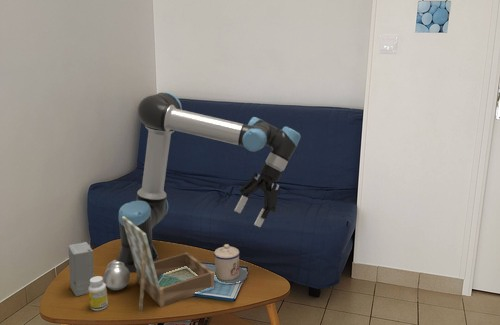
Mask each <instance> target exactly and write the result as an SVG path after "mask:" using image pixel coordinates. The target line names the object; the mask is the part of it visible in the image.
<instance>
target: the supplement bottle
mask: <svg viewBox="0 0 500 325" xmlns="http://www.w3.org/2000/svg"><path fill="white" fill-rule="evenodd" d="M88 289H89V293H88V295H89V296H88V297H89V305H90V309H91V310H93V311H102V310H104V309H106V308H107V307H108V306H109V301H108V300H109V299H108V291H107V286H106V284H105V282H104V276H100V275H97V276H95V275H94V277H92V278H91V279H90V286H89V288H88Z"/></svg>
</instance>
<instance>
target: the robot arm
mask: <svg viewBox="0 0 500 325" xmlns="http://www.w3.org/2000/svg"><path fill="white" fill-rule="evenodd" d="M137 116H138V119H139V120H140V122H141V123H142V124H143V125H144V127H145V128H146V130H148V133H147V141H146V150H145V159H144V167H143V176H142V181H141V182H142V185H141V188H139V189H138V190H137V193H136V199H135V200H132V201H130V202H126V203H125V204H123V205H121V206H120V208H119V210H118V224H119V234H120V244H121V246H120V251H119V254H118V258H117V260H118V261H121V262H123V263H124V265H125V266H126V267H127V268H128V270H129V272H130V273H137V271H136V267H135V264H134V260H133V256H132V253H131V249H130V245H129V242H128V238H127V234H126V231H125V227H124V224H123V220H122V217H123V216H124V217H126V218H127V219H128V220H129V221H131V222H132V223H133V224H134V225H136V226H137V227H138V228H139V229H141V230H142V231H143V232H144V233H146V236H147V240H148V243H149V247H150V251H151V255H152V259H153V262H154V261H158V260H159V254H158V251H157V250H156V247H155V245H154V243H153V231H152V230H153V229H154V227H156V226H157V224H159V223H160V222H161V221H163V219H164V218H165V217H166V215H167V214H168V210H169V202H168V200H167V192H165V190H164V189H165V188H164V187H165V181H166V173H167V166H168V160H169V159H168V158H169V151H170V150H169V149H170V145H171V135H172V134H173V133H174V132H175V131H176V132H180V133H185V134H189V135H192V136H193V135H194V136H198V137H203V138H206V139H211V140H215V141H218V142H219V141H220V142H224V143H228V144H232V145H236V146H240V147H244V148H245V149H246V150H248V151H249V152H258V151H260V150H261V149H263V148H264V147H265V146H267V147H269V148H271V150H270V152H269V153H268V156H267V158H266V159H265V163H264V164H263V166H262V167H261V169H260V173H261V174H259V173H257V172H255V173H254V174H253V175H252V177H251V178H250V179H249V180H247V182H246V183H245V184H244V185H243V186H242V187H241V188H240V189H239V192H240V193H241V195H240V197H239V198H238V202H237V204H236V206H235V208H234V209H233V210H234V212H236V213H237V214H241V213H242V211H243V209H244V207H245V205H246V203H247V201H248V199H249V196H251V195H252V194H254V193H255V192H257V191H258V190H261V191H263V195H264V196H263V197H264V199H263V200H264V201H263V202H264V206H263V207H262V208H261V211H260V212H259V213H258V216H257V218H256V220H255V222H254V224H253V225H254V226H255V227H256V226H257V227H258V228H261V227H262V225H263V223H264V221H265V220H266V219H267V217H268V215H269V214H270V212H272V213H273V212H276V208H277V202H278V197H279V191H280V189H281V185H279V184H278V183H276V182H279V180H280V179H281V177H282V175H283V173H282V172H284V171H285V169H286V167H287V165H288V163H289V161H290V160H291V158H292V156H293V153H294V152H295V150H296V148H297V147H298V145H299V142H300V140H301V134H300V132H298V131H296V130H294V129H293V128H290V127H289V126H283V128H282V129H280V128H278V127H276V126H274V125H272V124H270V123H269V122H267V121H264V119H261V118H258V117H257V116H256V117H255V116H253V117H251V118H250V120H249V121H248V124H245V123H240V122H236V121H232V120H226V119H224V118H219V117H214V116H211V115H205V114H201V113H197V112H193V111H188V110H184V109H183V107H182V103H181V101H180V99H179V98H178V97H177V96H176V95H175V94H173V93H171V92H158V93H156V94H151V95H148V96H146V97H144V98H143V99H141V101H140V102H139V104H138V106H137Z"/></svg>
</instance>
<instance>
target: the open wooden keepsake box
mask: <svg viewBox="0 0 500 325" xmlns="http://www.w3.org/2000/svg"><path fill="white" fill-rule="evenodd" d="M122 220H123V224H124V227H125V231H126V234H127V238H128V242H129V245H130V249H131V253H132V256H133V260H134V264H135V267H136V271H137V272H136V282H137V283H138V285H139V286H140V287H139V299H138V300H139V302H138V311H139V312H143V310H144V307H143V306H144V295H145V292H146V293H147V294H148V295H149V296H150V298H152V299H153V300H154V301H155V303H156V304H157V305H158V306H159V307H160V308H163V307H165V306H168V305H171V304H174V303H176V302H177V303H178V302H179V301H182V300H186V299H189V298H191V297H195V295H193V294H194V293H195V292H198V291H201V290H204V289H206V288H210V287H213V286H215V280H214V272H215V271H213V270H211V269H210V268H209V267H207V266H206V265H204V264H203V263H202V262H201V261H200V260H198V259H197V258H195V257H194V256H193V255H192V254H190V253H189V252H187V251H186V252H183V253H179V254H176V255H173V256H169V257H166V258H162V259H158V261H154V262H153V259H152V255H151V251H150V247H149V243H148V240H147V236H146V233H144V232H143V231H142V230H141V229H139V228H138V227H137V226H136V225H134V224H133V223H132V222H131V221H129V220H128V219H127V218H126V217H124V216H123V217H122ZM184 266H187V267H188V268H190V269H191V270H192V271H193V272H195V273H196V274H197V275H198V276H193V277H190V278H188V279H185V280H181V281H178V282H174V283H172V284H169V285H168V284H167V285H166V286H165V285H164V286H161V285H160V282H159V278H160V277H159V276H160V275H161V274H163V273H166V272H169V271H172V270H175V269H178V268H181V267H184Z"/></svg>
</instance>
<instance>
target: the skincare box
mask: <svg viewBox="0 0 500 325" xmlns="http://www.w3.org/2000/svg"><path fill="white" fill-rule="evenodd" d="M67 248H68V262H69V263H68V264H69V265H68V266H69V283H70V284H69V286H70V289H71V290H72V292H73V294H74V295H75V297H80V296H83V295H89V289H88V288H89V286H90V279H91V278H92V277H95V271H94V269H95V268H94V250H93V249H92V247H91V245H90V244H89V243H88V242H87V241H84V242H79V243H73V244H68V247H67Z"/></svg>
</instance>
